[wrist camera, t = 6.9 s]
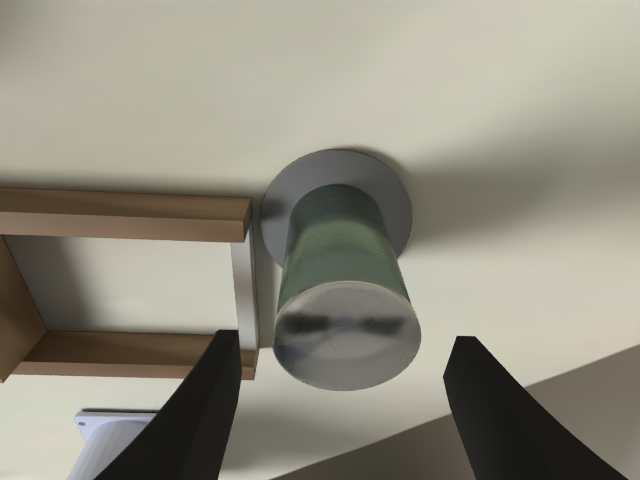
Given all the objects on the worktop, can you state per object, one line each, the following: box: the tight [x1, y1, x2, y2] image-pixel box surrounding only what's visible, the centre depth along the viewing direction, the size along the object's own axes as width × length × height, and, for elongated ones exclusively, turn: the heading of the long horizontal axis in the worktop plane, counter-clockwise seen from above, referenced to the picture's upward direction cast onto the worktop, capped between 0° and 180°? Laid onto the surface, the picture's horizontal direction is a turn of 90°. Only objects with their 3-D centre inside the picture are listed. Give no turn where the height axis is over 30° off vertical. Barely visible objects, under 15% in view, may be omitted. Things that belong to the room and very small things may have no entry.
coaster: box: [260, 149, 412, 268], centre depth 20 cm, size 8×8×1 cm
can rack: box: [0, 188, 259, 383], centre depth 20 cm, size 11×15×4 cm
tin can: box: [272, 184, 421, 391], centre depth 16 cm, size 5×5×8 cm
